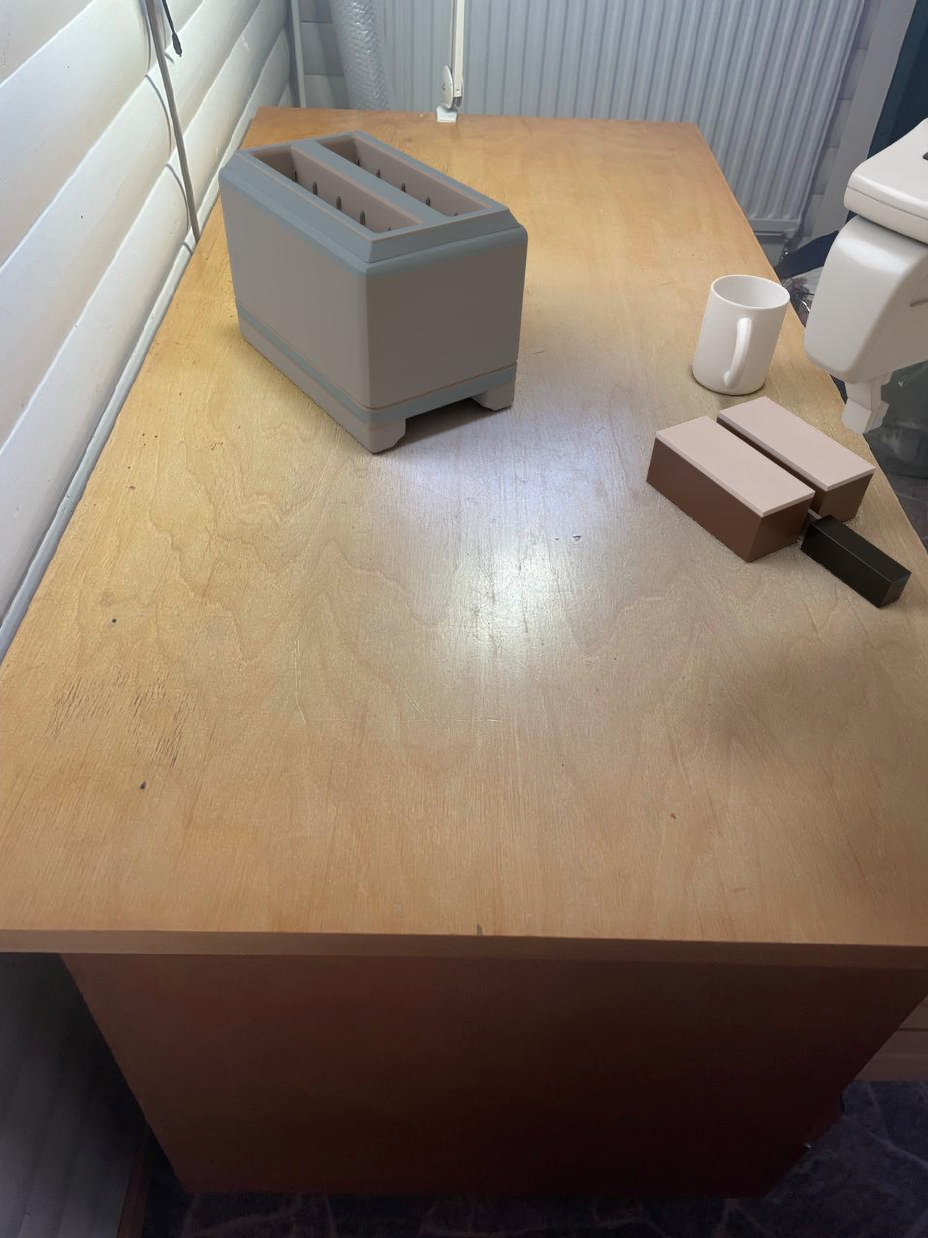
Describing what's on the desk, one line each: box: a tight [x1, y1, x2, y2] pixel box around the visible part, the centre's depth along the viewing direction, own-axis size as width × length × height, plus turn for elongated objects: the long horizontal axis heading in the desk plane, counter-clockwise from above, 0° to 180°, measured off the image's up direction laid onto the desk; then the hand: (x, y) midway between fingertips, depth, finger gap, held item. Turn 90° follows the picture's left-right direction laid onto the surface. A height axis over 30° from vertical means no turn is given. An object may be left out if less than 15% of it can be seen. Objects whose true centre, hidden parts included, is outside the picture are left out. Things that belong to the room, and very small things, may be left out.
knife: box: [798, 509, 913, 609], centre depth 83 cm, size 22×3×3 cm, turn 31°
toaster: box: [217, 129, 529, 454], centre depth 96 cm, size 19×33×20 cm, turn 36°
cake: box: [645, 395, 877, 563], centre depth 85 cm, size 14×14×6 cm
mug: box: [692, 274, 791, 396], centre depth 99 cm, size 12×8×10 cm
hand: (912, 408), depth 56 cm, fingers open, 8 cm apart
